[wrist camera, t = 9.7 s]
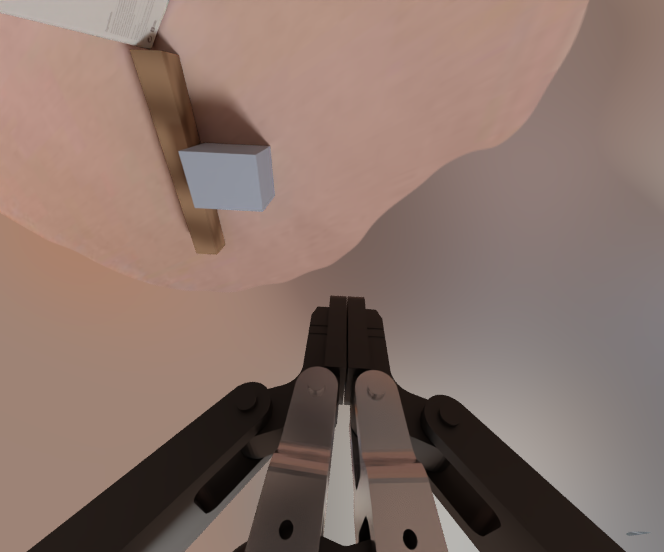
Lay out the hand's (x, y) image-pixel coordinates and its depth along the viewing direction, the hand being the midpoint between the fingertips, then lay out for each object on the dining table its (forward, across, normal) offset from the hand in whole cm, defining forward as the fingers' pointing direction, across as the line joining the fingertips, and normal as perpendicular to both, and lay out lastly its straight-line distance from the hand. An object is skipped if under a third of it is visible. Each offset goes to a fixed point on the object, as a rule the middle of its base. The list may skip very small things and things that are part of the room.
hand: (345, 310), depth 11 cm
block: (+25, +14, 0) cm, 29 cm away
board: (+25, +20, 0) cm, 32 cm away
